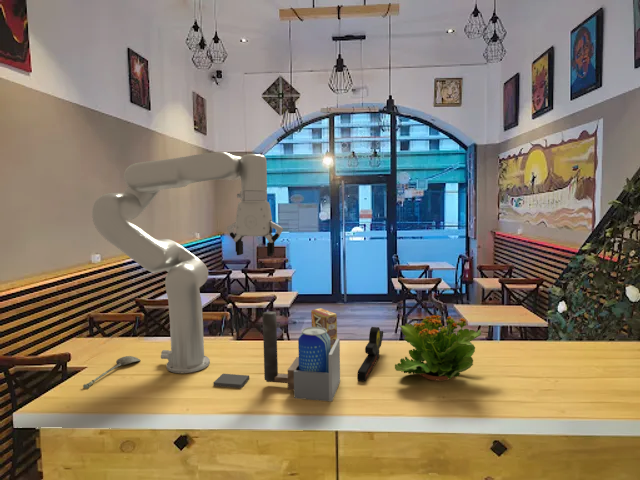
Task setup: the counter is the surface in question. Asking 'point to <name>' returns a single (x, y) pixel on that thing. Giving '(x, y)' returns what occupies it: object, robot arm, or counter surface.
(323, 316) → the candy box
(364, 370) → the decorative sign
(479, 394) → the counter surface
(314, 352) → the beer can
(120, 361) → the soupspoon
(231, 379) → the gray rectangular plate
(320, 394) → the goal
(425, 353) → the potted flower
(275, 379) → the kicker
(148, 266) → the robot arm
